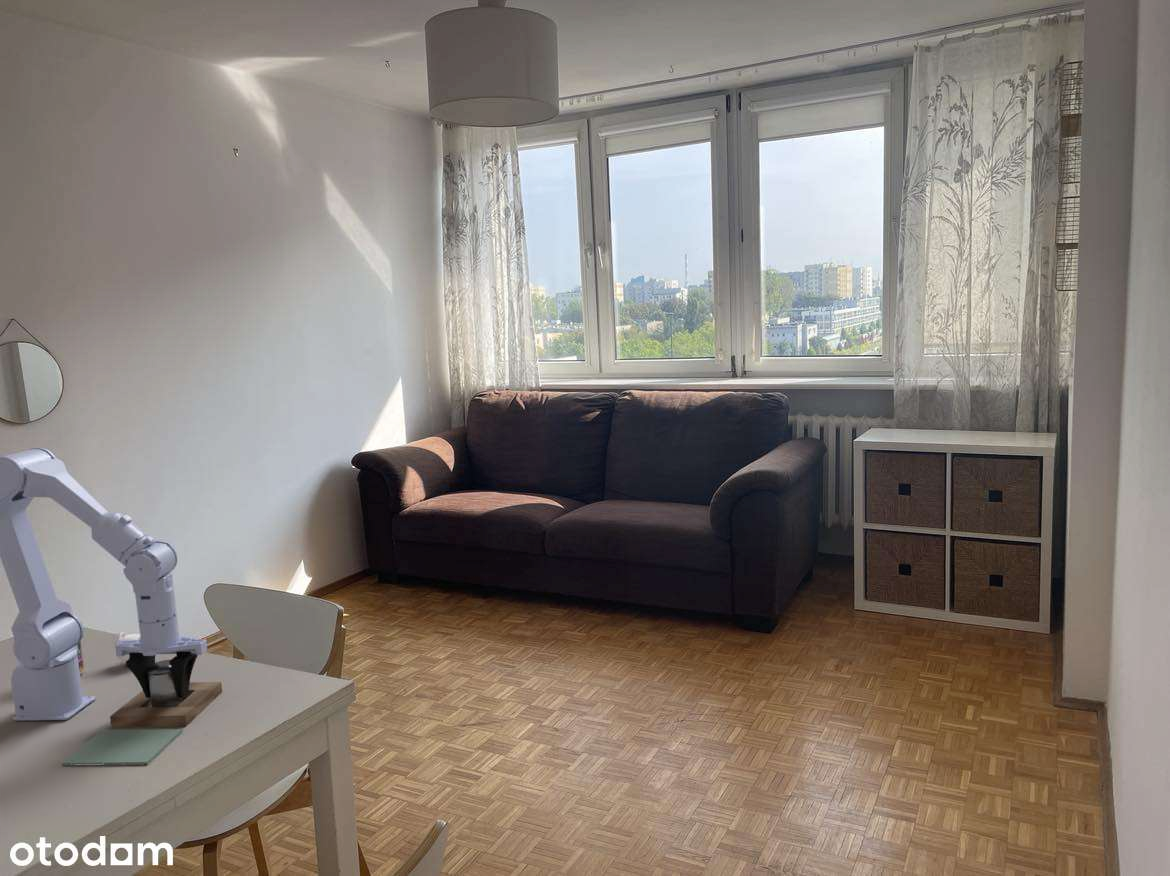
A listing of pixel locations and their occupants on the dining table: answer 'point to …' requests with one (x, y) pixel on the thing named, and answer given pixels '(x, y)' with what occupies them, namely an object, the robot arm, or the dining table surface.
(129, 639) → the elephant figurine
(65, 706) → the robot arm
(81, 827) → the dining table surface
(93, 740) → the mat
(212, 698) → the collar
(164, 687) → the metal cylinder
